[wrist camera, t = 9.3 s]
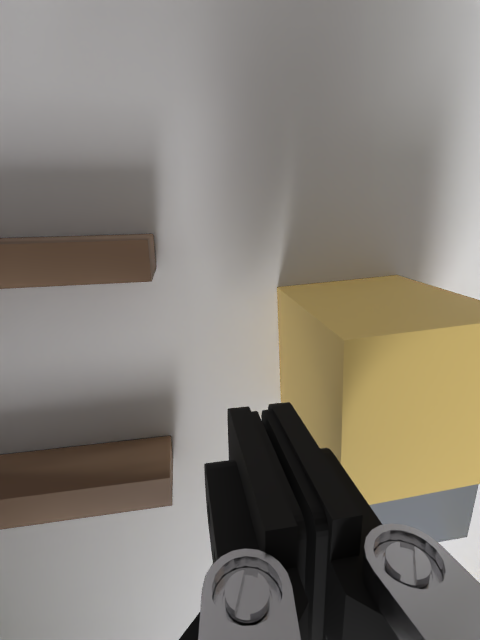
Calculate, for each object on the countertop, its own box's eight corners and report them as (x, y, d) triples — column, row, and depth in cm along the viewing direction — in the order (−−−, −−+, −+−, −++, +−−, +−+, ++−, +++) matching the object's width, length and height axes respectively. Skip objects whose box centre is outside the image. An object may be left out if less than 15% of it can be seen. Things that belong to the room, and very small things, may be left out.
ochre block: (388, 384, 16) (501, 479, 11) (280, 400, 16) (339, 510, 10) (396, 274, 15) (532, 316, 9) (276, 286, 14) (344, 340, 8)
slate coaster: (461, 530, 20) (467, 536, 19) (321, 554, 19) (324, 561, 18) (489, 400, 17) (496, 404, 17) (330, 417, 16) (334, 423, 16)
